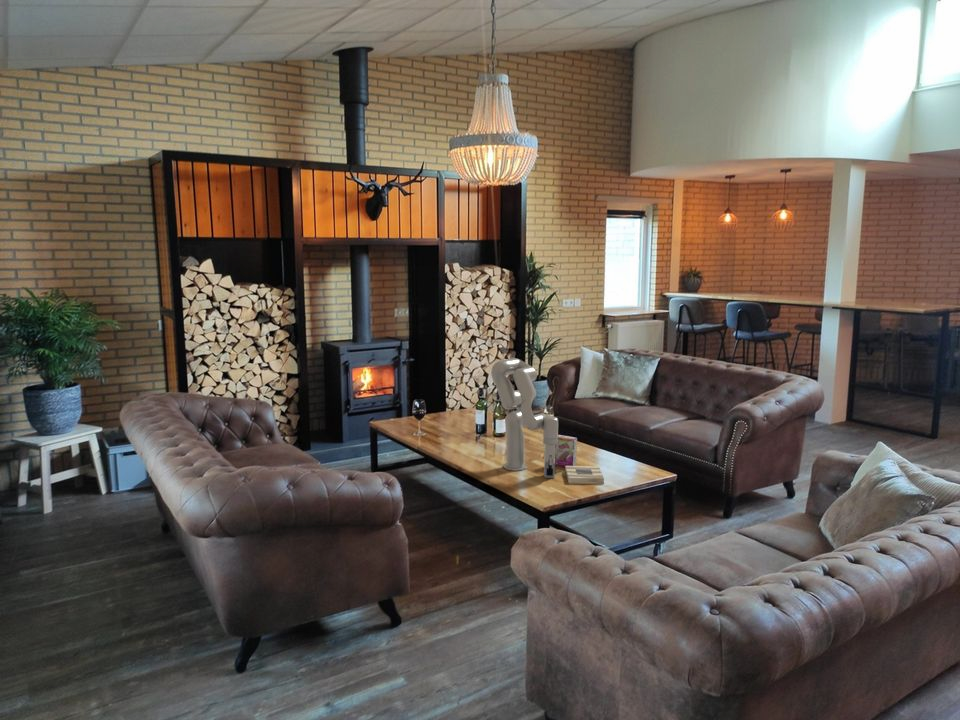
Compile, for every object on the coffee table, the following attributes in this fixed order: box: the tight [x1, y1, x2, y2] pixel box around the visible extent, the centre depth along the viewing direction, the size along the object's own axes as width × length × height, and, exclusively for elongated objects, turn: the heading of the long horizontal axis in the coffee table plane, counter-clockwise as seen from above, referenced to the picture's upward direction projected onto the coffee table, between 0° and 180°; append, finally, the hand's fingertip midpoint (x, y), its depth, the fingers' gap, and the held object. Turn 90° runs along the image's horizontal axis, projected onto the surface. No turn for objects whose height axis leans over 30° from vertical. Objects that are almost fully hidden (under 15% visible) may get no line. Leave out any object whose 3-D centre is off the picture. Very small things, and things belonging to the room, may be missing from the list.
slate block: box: [543, 461, 556, 479], centre depth 375 cm, size 5×5×8 cm
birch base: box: [564, 465, 605, 485], centre depth 375 cm, size 20×18×3 cm
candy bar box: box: [554, 434, 578, 467], centre depth 394 cm, size 11×5×16 cm, turn 59°
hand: (549, 473), depth 375 cm, fingers closed on slate block, 5 cm apart
